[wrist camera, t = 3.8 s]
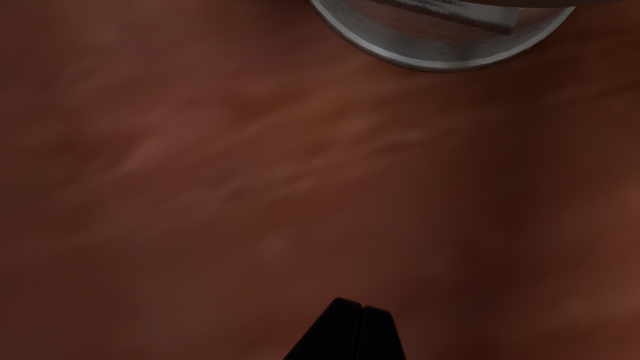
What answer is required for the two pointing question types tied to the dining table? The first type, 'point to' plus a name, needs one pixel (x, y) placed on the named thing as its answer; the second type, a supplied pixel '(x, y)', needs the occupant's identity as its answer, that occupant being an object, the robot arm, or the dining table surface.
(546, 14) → the pot
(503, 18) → the lid
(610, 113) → the dining table surface
